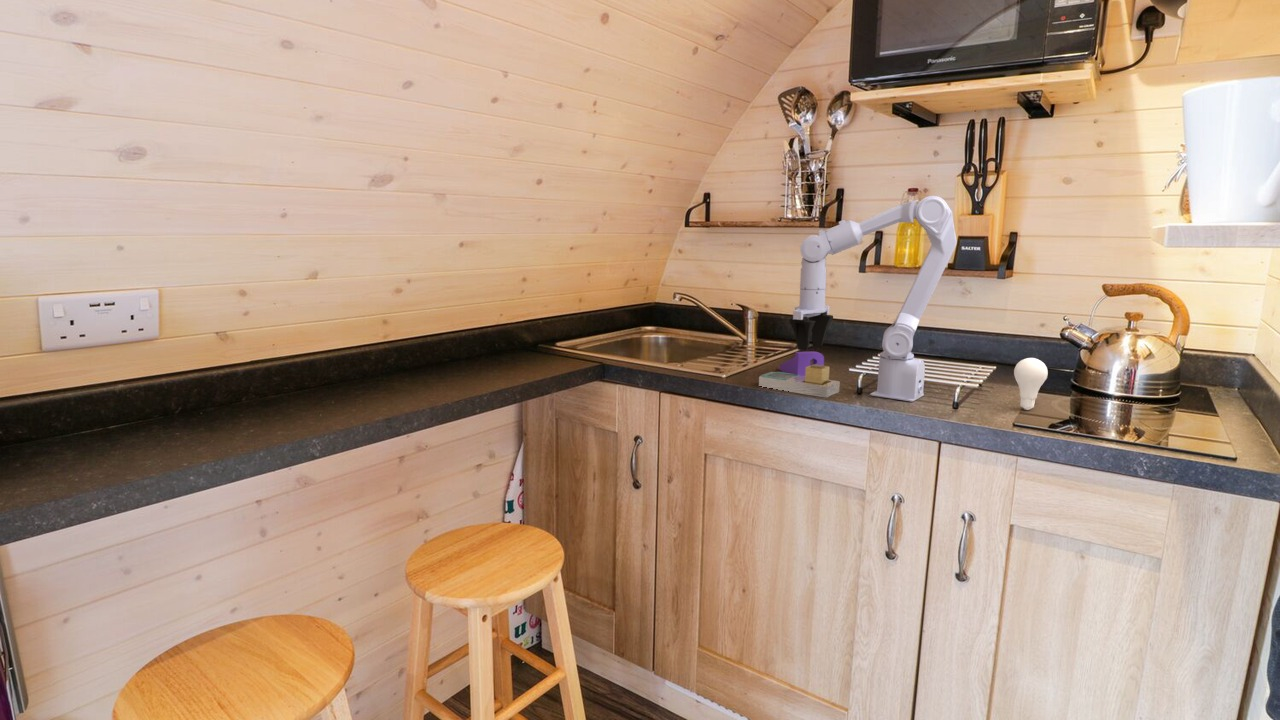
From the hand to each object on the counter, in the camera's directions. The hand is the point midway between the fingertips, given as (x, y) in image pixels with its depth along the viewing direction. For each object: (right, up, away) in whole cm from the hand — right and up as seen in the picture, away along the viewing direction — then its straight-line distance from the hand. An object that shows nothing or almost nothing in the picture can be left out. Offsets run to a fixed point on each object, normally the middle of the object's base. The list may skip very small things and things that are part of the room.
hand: (810, 347), depth 165 cm
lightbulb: (+41, -14, -16) cm, 46 cm away
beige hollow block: (+1, -10, -1) cm, 10 cm away
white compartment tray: (-3, -10, +1) cm, 10 cm away
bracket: (+2, -7, +19) cm, 20 cm away
